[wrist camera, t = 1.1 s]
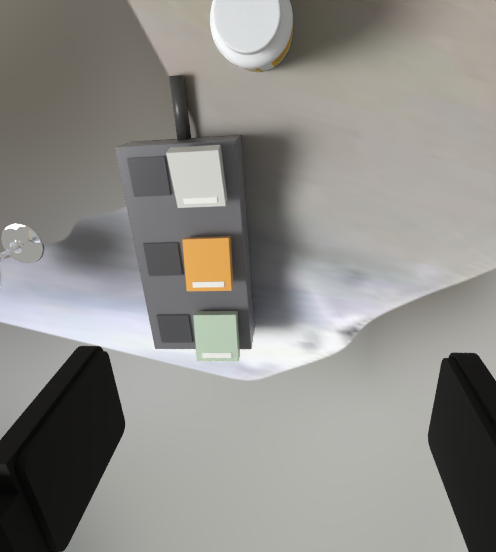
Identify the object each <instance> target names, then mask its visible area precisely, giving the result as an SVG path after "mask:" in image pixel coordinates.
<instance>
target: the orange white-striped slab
mask: <svg viewBox="0 0 496 552" xmlns="http://www.w3.org/2000/svg"><path fill="white" fill-rule="evenodd" d="M182 241H183V253H184V266H185V278H186V290H187V291H232V289H233V287H234V286H233V268H232V250H231V236H220V237H188V238H184V239H182Z"/></svg>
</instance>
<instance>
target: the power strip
mask: <svg viewBox="0 0 496 552" xmlns="http://www.w3.org/2000/svg"><path fill="white" fill-rule="evenodd" d="M169 80H170V88H171V95H172V102H173V109H174V117H175V124H176V132H177V139H170V140H152V141H135V142H130V143H127V144H124V145H121V146H118V147H116V148H115V149H116V154H117V160H118V165H119V169H120V174H121V180H122V184H123V190H124V195H125V200H126V205H127V210H128V215H129V220H130V225H131V230H132V235H133V240H134V245H135V250H136V255H137V260H138V265H139V270H140V275H141V280H142V285H143V290H144V295H145V300H146V305H147V310H148V315H149V320H150V325H151V330H152V335H153V340H154V345H155V349H196V343H195V330H194V318H193V315H194V314H195V312H196V311H237V312H238V330H239V349H251V348H252V341H253V335H254V328H255V325H254V311H253V297H252V283H251V269H250V254H249V240H248V226H247V212H246V198H245V183H244V169H243V155H242V141H241V135H233V136H217V137H201V138H191V134H190V125H189V118H188V109H187V100H186V92H185V84H184V76H183V75H179V76H169ZM207 145H221V153H222V161H223V169H224V177H225V184H226V192H227V203H226V206H214V207H189V208H178V207H177V202H176V197H175V193H174V188H173V183H172V178H171V174H170V169H169V164H168V160H167V155H166V153H167V151H168V150H169V148H173V147H190V146H207ZM220 236H231V250H232V268H233V286H234V287H233V289H232V291H187V290H186V278H185V266H184V253H183V241H182V239H184V238H188V237H220Z"/></svg>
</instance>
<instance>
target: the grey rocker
mask: <svg viewBox="0 0 496 552" xmlns="http://www.w3.org/2000/svg"><path fill="white" fill-rule="evenodd" d="M166 155H167V160H168V164H169V169H170V174H171V178H172V183H173V188H174V193H175V197H176V202H177V207H178V208H189V207H214V206H226V203H227V192H226V184H225V177H224V169H223V161H222V153H221V145H207V146H190V147H173V148H169V150H168V151H167V153H166Z"/></svg>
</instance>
